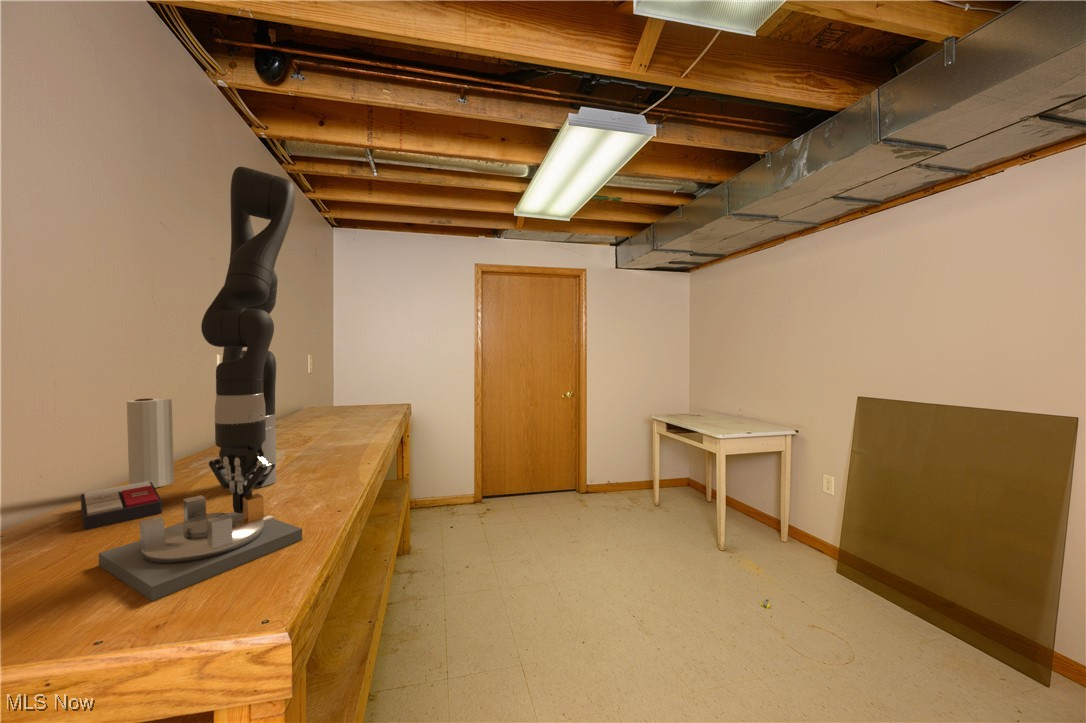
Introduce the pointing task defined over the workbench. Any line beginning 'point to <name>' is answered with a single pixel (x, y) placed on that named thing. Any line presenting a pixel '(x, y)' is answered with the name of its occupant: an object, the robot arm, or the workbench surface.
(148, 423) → the paper towel roll
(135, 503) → the calculator
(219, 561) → the base plate
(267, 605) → the workbench surface
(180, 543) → the lugged metal dish
